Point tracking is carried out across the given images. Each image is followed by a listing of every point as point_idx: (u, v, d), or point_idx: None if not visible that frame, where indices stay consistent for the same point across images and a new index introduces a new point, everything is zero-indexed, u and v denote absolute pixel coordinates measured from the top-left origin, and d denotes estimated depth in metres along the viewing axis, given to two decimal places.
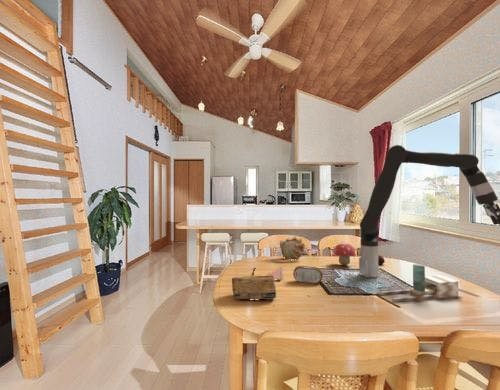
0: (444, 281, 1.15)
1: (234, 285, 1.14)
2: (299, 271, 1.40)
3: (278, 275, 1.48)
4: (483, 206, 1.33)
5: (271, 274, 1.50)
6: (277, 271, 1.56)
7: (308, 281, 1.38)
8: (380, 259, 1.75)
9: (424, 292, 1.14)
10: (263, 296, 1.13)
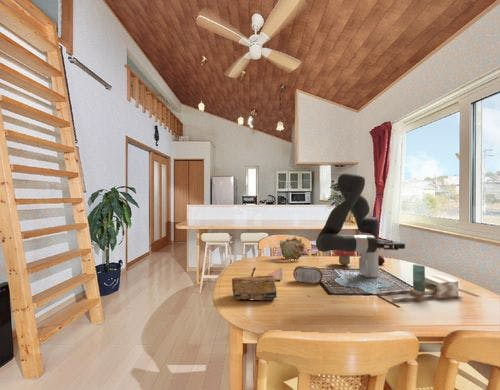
0: (444, 281, 1.15)
1: (235, 286, 1.13)
2: (299, 271, 1.40)
3: (278, 275, 1.48)
4: (385, 243, 1.10)
5: (271, 274, 1.50)
6: (277, 271, 1.56)
7: (308, 281, 1.38)
8: (380, 259, 1.75)
9: (424, 292, 1.14)
10: (264, 296, 1.13)
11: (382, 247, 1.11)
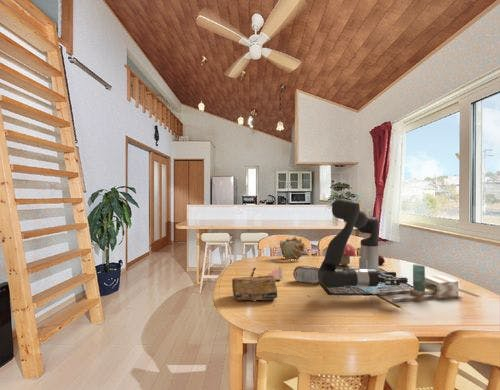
0: (444, 281, 1.15)
1: (235, 286, 1.13)
2: (299, 271, 1.40)
3: (277, 275, 1.48)
4: (387, 278, 1.10)
5: (270, 274, 1.50)
6: (276, 271, 1.56)
7: (308, 281, 1.38)
8: (380, 259, 1.75)
9: (424, 292, 1.14)
10: (264, 296, 1.12)
11: (384, 282, 1.12)
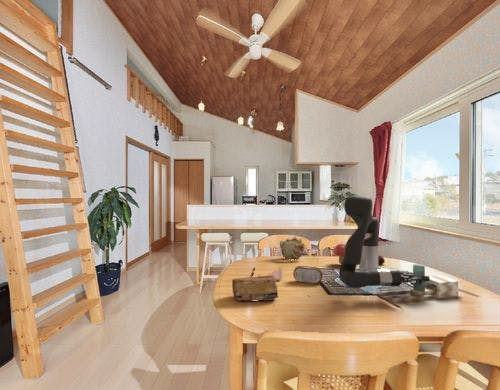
0: (444, 281, 1.15)
1: (236, 287, 1.12)
2: (299, 271, 1.40)
3: (277, 275, 1.48)
4: (412, 278, 1.11)
5: (270, 274, 1.50)
6: (276, 271, 1.56)
7: (308, 281, 1.38)
8: (380, 259, 1.75)
9: (424, 292, 1.14)
10: (265, 297, 1.12)
11: (409, 282, 1.12)
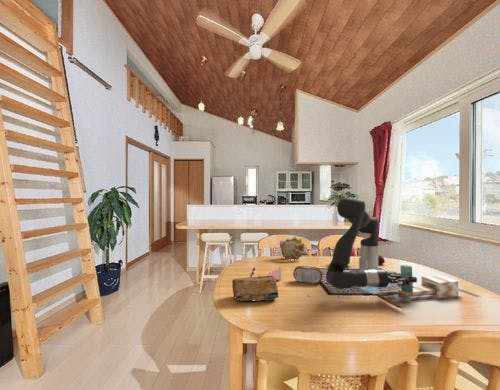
0: (444, 281, 1.15)
1: (236, 287, 1.12)
2: (299, 271, 1.40)
3: (277, 275, 1.48)
4: (399, 279, 1.09)
5: (270, 274, 1.50)
6: (276, 271, 1.56)
7: (308, 281, 1.38)
8: (380, 259, 1.75)
9: (412, 293, 1.13)
10: (266, 297, 1.12)
11: (396, 283, 1.11)
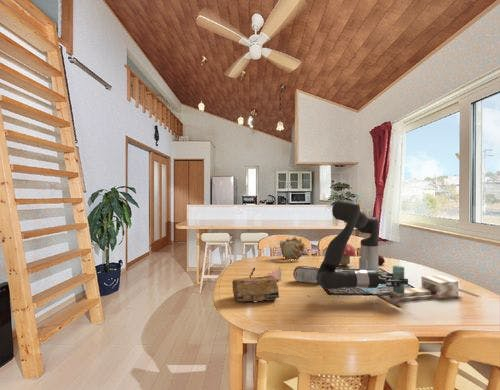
0: (444, 281, 1.15)
1: (237, 287, 1.11)
2: (299, 271, 1.40)
3: (276, 275, 1.48)
4: (387, 280, 1.08)
5: (269, 274, 1.50)
6: (276, 271, 1.56)
7: (308, 281, 1.38)
8: (380, 259, 1.75)
9: (403, 294, 1.12)
10: (267, 297, 1.12)
11: (385, 283, 1.10)
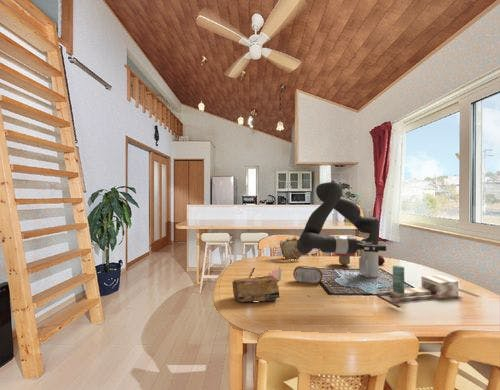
0: (444, 281, 1.15)
1: (238, 288, 1.10)
2: (299, 271, 1.40)
3: (276, 275, 1.48)
4: (365, 245, 1.08)
5: (269, 274, 1.50)
6: (276, 271, 1.56)
7: (308, 281, 1.38)
8: (380, 259, 1.75)
9: (403, 294, 1.12)
10: (267, 297, 1.12)
11: (362, 249, 1.10)
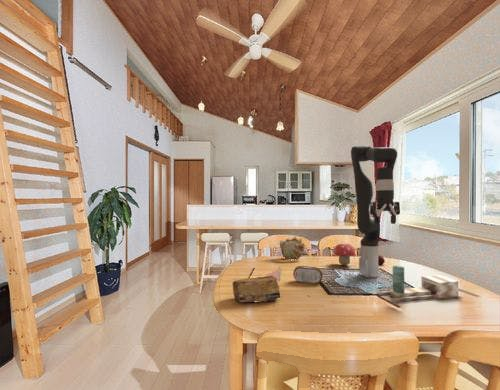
0: (444, 281, 1.15)
1: (239, 288, 1.10)
2: (299, 271, 1.40)
3: (276, 275, 1.48)
4: None
5: (269, 274, 1.50)
6: (275, 271, 1.56)
7: (308, 281, 1.38)
8: (380, 259, 1.75)
9: (403, 294, 1.12)
10: (268, 297, 1.12)
11: (393, 203, 1.25)
